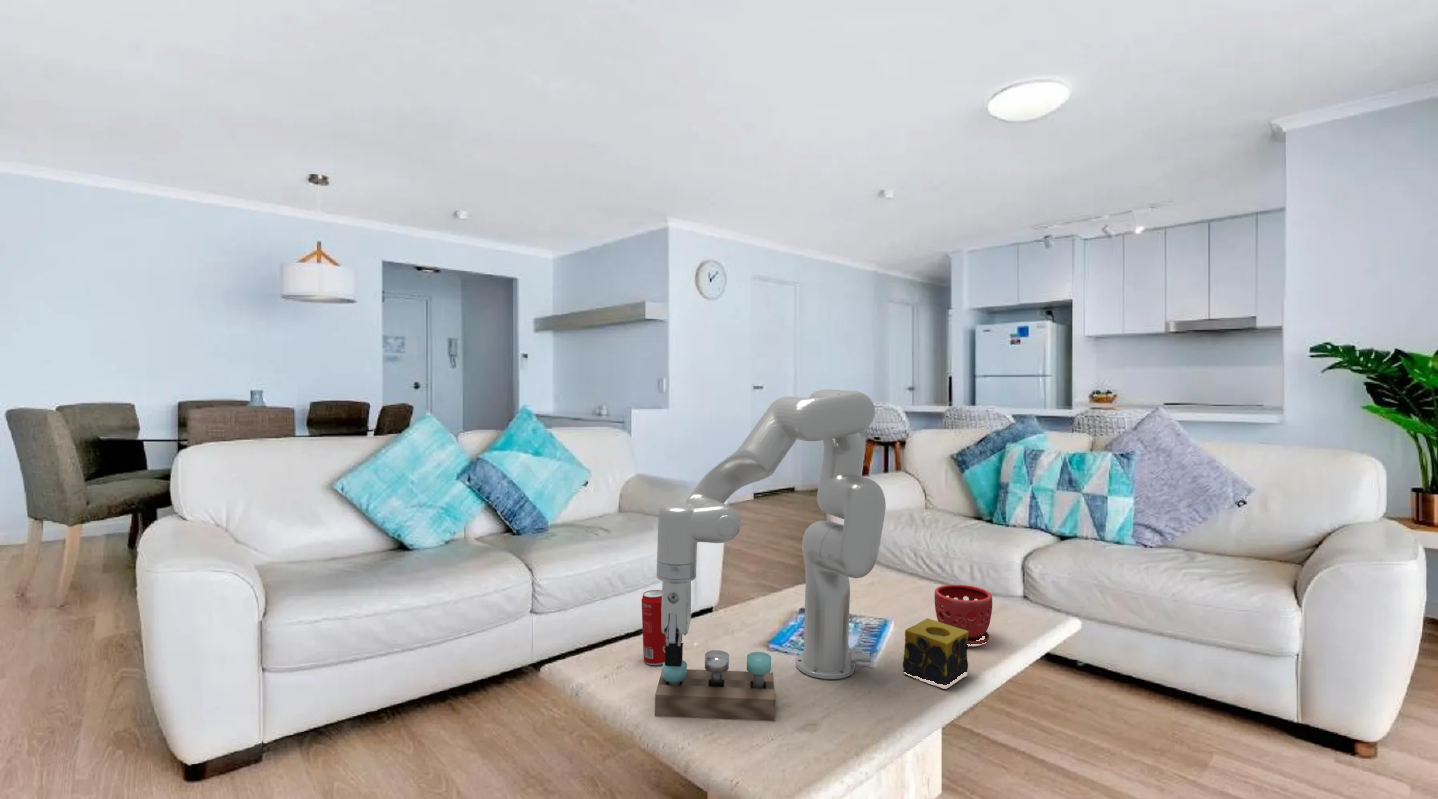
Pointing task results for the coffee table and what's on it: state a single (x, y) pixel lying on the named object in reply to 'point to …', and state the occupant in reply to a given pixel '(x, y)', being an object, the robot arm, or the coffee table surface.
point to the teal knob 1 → (675, 673)
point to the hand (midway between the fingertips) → (673, 664)
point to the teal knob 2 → (758, 667)
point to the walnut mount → (716, 697)
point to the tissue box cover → (935, 651)
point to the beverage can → (653, 628)
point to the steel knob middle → (716, 666)
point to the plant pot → (965, 610)
